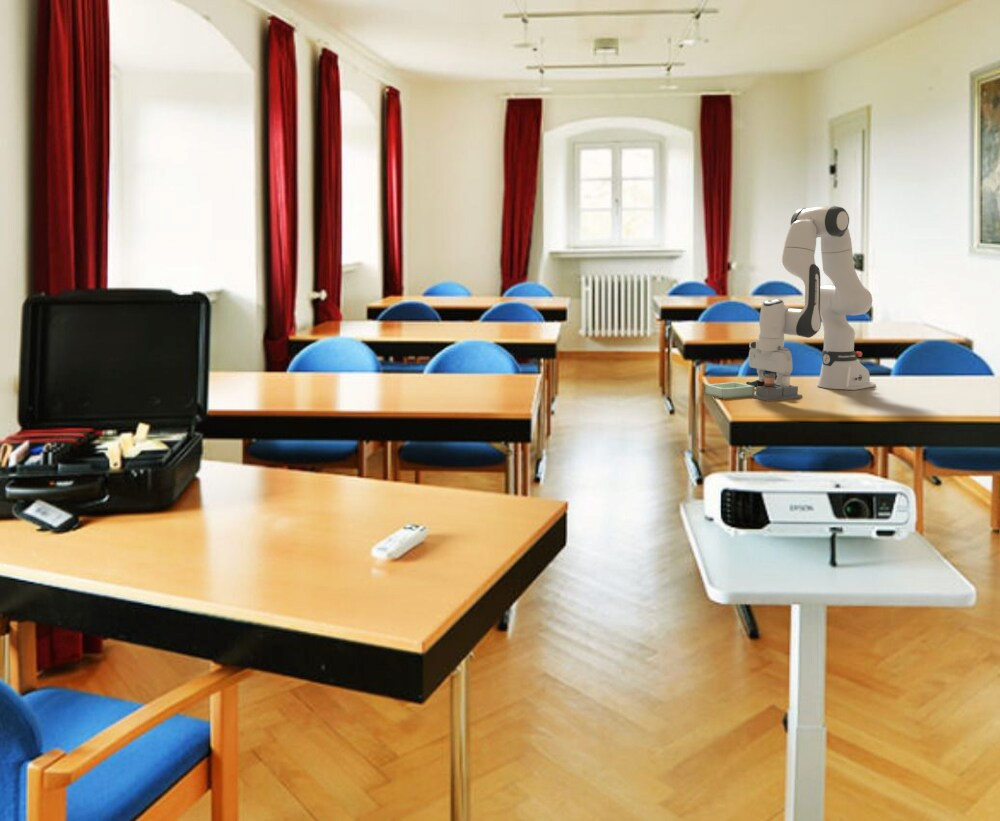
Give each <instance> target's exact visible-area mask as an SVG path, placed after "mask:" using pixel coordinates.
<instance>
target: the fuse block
mask: <svg viewBox="0 0 1000 821" xmlns="http://www.w3.org/2000/svg"><path fill="white" fill-rule="evenodd" d="M798 388H799V386H796V385H793V384H792V385H791V384H790V387H780V385H775V388H773V389H767V388H764V386H759V387H755V393H754V394H753V395H751V396H750V397H751V398H753V399H757V400H760V401H765V402H772V401H782V400H791V399H802V398H803V394H800V393H799V392H798Z"/></svg>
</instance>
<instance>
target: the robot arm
mask: <svg viewBox="0 0 1000 821" xmlns="http://www.w3.org/2000/svg"><path fill="white" fill-rule="evenodd" d="M849 224H850V215H849V213H848V212H847V210H846V209H845V208H844V207H841V206H836V205H833V206H828V205H823V206H822V205H821V206H814V207H809V208H807V207H804V208H799V209H797V210H796V211H795V212H794V213H793V215H792V217H791V218H790V227H789V229H788V233H787V234H786V238H785V241H784V245H783V246H784V247H783V251H782V257H781V258H782V259H781V262H782V266H783V267H784V269H785V270H786V271H787V272H788V273H789V274H792V276H795V277H797V278H799V279H800V280H802V282H803V284H804V307H803V308H793V307H789V306H786V305H785V302H784V301H783V300H782V299H777V298H776V299H769V300H767V299H766V300H765V301H764V302H762V305H761V307H760V313H759V321H758V322H759V325H758V326H759V334H758V339H756V340H754V341H750V342H749V343H748V344H749V352H748V366H749V367H750V368H753V369H756V373H757V375H758V380H759V381H761V382H764V381H765V376H764V375H765V370H767V371H772V372H777V373H776V375H777V378H776V380H774V384H775V385H780V384H781V379H782V378H783V376H784V374H790V375H791V373H792V372H793V368H794V367H793V357H792V352H791V350H790V349H789V347H784V346H785V335H790V336H799V337H802V338H808V339H809V338H812V337H814V336H815V335H816V334H818V332H819V331H820V329H821V326H823V349H822V353H821V360H822V364H821V367H820V374H819V379H818V382H817V387H820V388H824V389H831V390H847V391H850V390H851V391H857V390H861V389H867V388H872V387H873V388H874V387H877V384H876V383H875V382H873V381H870V379H871V377H870V370H869V369H867V368H866V367H865V366H864V365H863V364H861V363H860V362H859V361H858V359H857V358H861V357H862V356H863V353H862V351H855V350H854V349H855V335H856V334H855V329H854V328H853V326H852V325H850V324H849V322H848V320H847V316H861V315H865V314H867V313H868V312H869V311H870V309H871V308H872V305H873V296H872V293H871V291H869V289H867V288H866V287H865V286H864V284H862V282H861V280H860V278H859V276H858V274H857V272H856V267H855V263H854V255H853V245H852V239H851V234H850V230H849ZM817 238H820V252H821V262H822V263H821V264H822V271H823V273H824V275H825V276H826V277H828V278H829V279H830V280H831V282H832V283H833V284H826V285H821V270H820V268H819V266H818V265H816V260H815V254H816V248H817V247H816V246H817Z"/></svg>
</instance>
